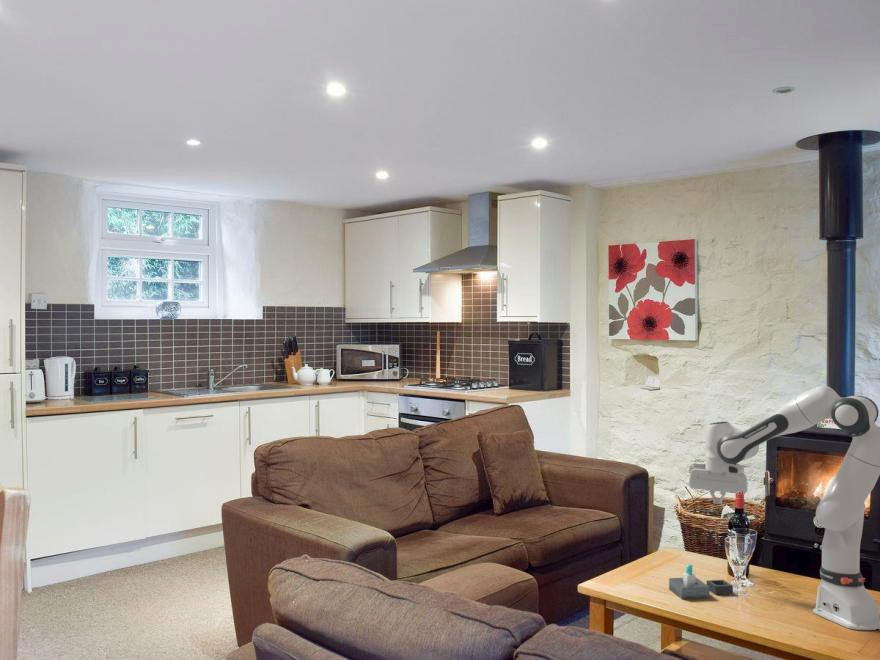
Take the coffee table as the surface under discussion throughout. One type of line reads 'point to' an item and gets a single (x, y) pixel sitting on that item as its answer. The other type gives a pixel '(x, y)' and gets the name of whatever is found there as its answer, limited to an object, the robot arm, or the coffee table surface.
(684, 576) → the plug
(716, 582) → the holster
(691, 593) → the port block
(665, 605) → the coffee table surface
